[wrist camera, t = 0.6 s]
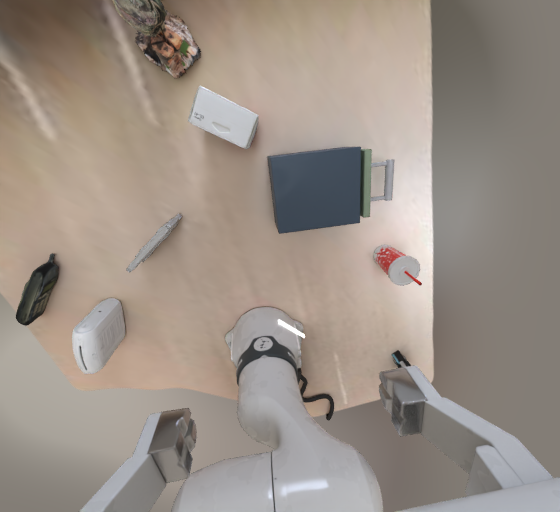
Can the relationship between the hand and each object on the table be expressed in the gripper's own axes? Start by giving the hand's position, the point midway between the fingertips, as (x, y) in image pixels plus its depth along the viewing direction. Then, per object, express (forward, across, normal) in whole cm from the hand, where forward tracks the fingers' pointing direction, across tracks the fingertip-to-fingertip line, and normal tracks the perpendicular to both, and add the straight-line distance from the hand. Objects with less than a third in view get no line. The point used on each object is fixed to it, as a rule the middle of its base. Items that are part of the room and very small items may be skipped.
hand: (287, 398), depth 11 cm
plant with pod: (+44, -10, +27) cm, 53 cm away
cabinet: (+44, +10, +2) cm, 45 cm away
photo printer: (+44, -36, -20) cm, 60 cm away
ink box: (+44, -3, +14) cm, 46 cm away
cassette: (+44, -20, -4) cm, 48 cm away
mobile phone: (+44, -45, -10) cm, 64 cm away
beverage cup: (+44, +26, -16) cm, 53 cm away
